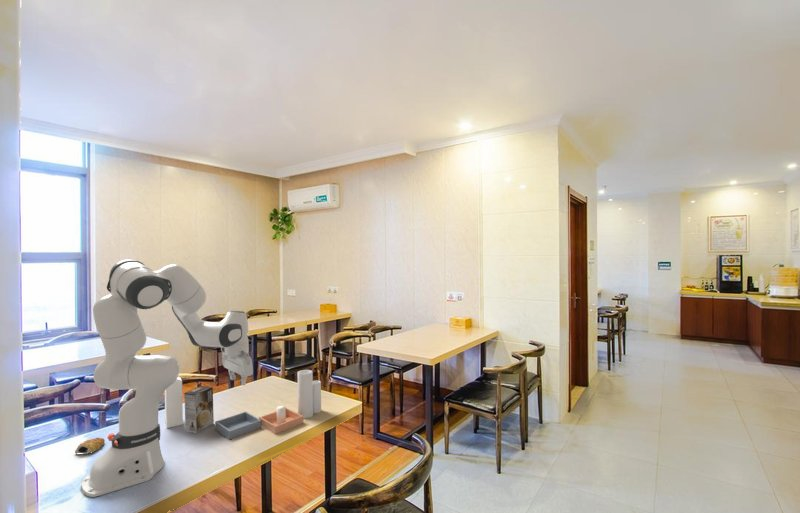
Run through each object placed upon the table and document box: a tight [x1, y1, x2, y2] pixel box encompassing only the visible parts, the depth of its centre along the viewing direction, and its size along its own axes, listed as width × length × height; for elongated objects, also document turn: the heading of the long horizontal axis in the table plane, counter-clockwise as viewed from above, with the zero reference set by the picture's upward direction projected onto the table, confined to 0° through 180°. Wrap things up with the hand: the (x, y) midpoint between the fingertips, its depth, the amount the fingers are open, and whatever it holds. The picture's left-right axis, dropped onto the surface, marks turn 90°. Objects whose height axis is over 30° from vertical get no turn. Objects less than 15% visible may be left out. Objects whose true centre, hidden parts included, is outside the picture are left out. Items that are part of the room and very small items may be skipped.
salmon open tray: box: [258, 407, 304, 435], centre depth 164 cm, size 13×13×4 cm
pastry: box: [74, 437, 106, 455], centre depth 146 cm, size 9×7×4 cm
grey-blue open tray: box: [214, 411, 262, 441], centre depth 160 cm, size 13×13×4 cm
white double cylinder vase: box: [297, 369, 322, 420], centre depth 174 cm, size 11×7×20 cm, turn 151°
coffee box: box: [183, 385, 215, 434], centre depth 162 cm, size 9×6×16 cm
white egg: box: [276, 405, 286, 425], centre depth 164 cm, size 4×4×7 cm
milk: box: [164, 376, 184, 429], centre depth 166 cm, size 6×6×22 cm
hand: (237, 382), depth 160 cm, fingers open, 8 cm apart
